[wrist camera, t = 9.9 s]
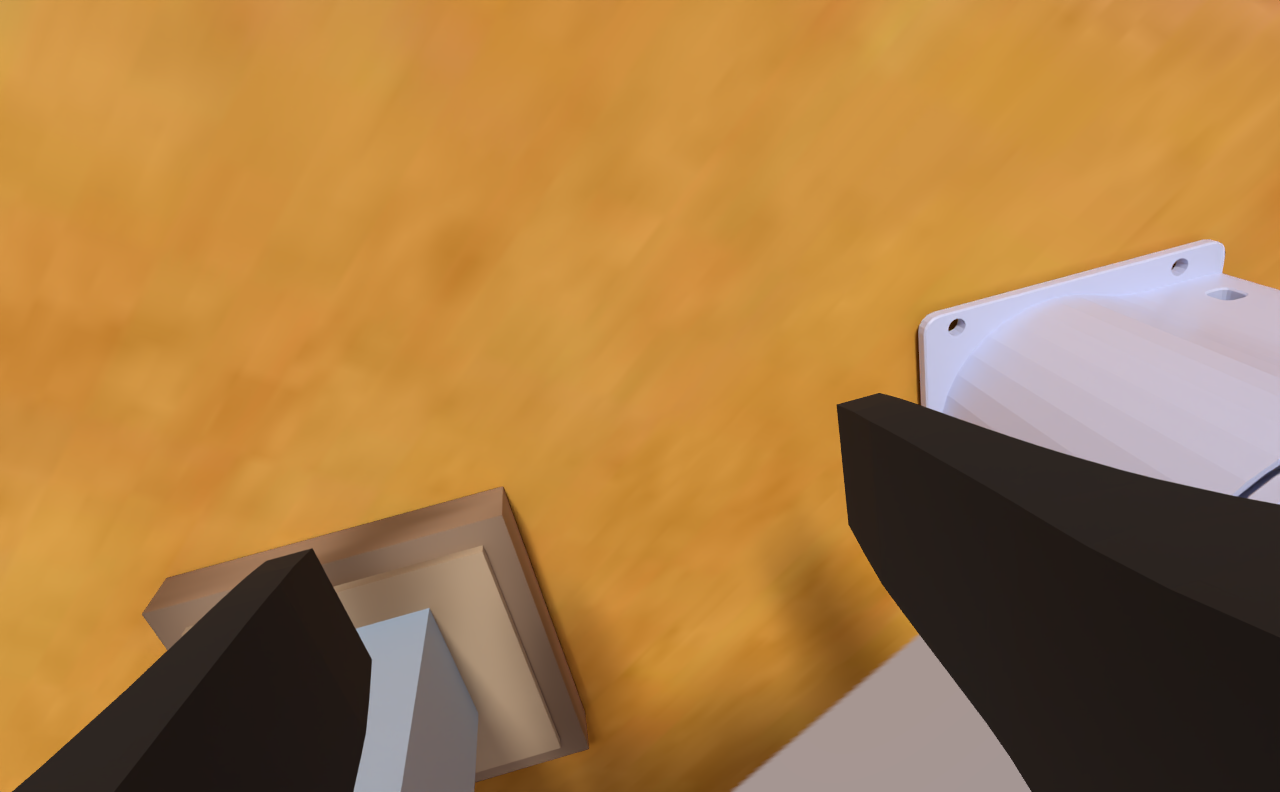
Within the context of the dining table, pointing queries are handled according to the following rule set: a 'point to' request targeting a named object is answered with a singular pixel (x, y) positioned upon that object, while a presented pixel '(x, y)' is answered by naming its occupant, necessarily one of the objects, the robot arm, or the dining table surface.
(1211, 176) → the dining table surface
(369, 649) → the blue block
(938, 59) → the dining table surface
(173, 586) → the walnut plinth
